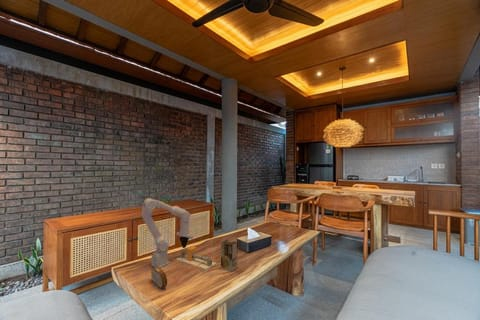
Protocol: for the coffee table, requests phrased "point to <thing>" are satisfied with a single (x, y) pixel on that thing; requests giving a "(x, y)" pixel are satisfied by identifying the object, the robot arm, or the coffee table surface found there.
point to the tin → (159, 277)
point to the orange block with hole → (190, 251)
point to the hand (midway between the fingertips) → (184, 247)
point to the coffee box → (229, 255)
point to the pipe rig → (196, 261)
